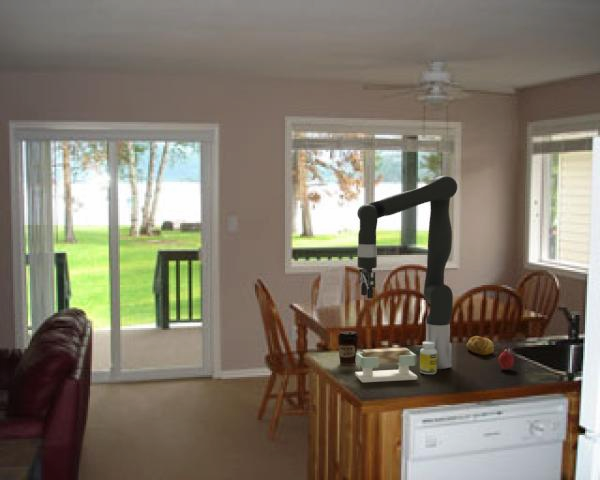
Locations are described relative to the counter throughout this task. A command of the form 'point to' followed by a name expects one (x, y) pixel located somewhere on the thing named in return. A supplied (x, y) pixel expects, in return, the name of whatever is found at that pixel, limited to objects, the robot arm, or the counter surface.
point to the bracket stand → (385, 375)
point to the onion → (506, 360)
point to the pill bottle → (428, 358)
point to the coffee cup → (347, 347)
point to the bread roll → (480, 345)
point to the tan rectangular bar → (386, 354)
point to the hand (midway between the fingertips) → (367, 296)
